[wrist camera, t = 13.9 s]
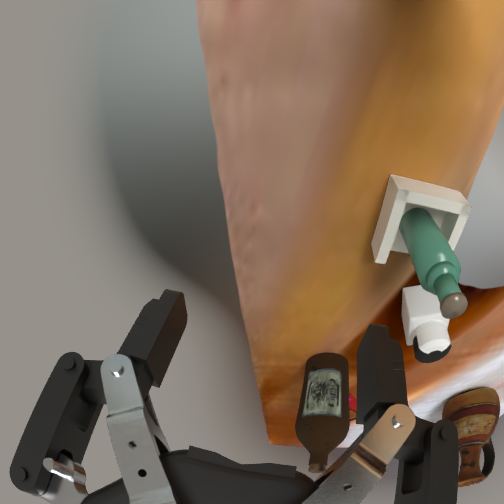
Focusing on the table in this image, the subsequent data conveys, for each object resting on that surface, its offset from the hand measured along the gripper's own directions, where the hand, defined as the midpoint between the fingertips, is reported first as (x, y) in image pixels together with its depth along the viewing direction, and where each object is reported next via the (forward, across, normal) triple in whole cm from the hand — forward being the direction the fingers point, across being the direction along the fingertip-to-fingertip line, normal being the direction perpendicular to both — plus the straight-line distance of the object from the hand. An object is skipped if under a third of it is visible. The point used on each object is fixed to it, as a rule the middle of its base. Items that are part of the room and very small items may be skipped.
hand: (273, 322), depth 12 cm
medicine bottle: (+28, -24, +23) cm, 44 cm away
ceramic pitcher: (+28, -63, +61) cm, 92 cm away
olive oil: (+28, -12, +46) cm, 55 cm away
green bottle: (+27, -17, +9) cm, 33 cm away
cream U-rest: (+28, -17, +8) cm, 34 cm away
